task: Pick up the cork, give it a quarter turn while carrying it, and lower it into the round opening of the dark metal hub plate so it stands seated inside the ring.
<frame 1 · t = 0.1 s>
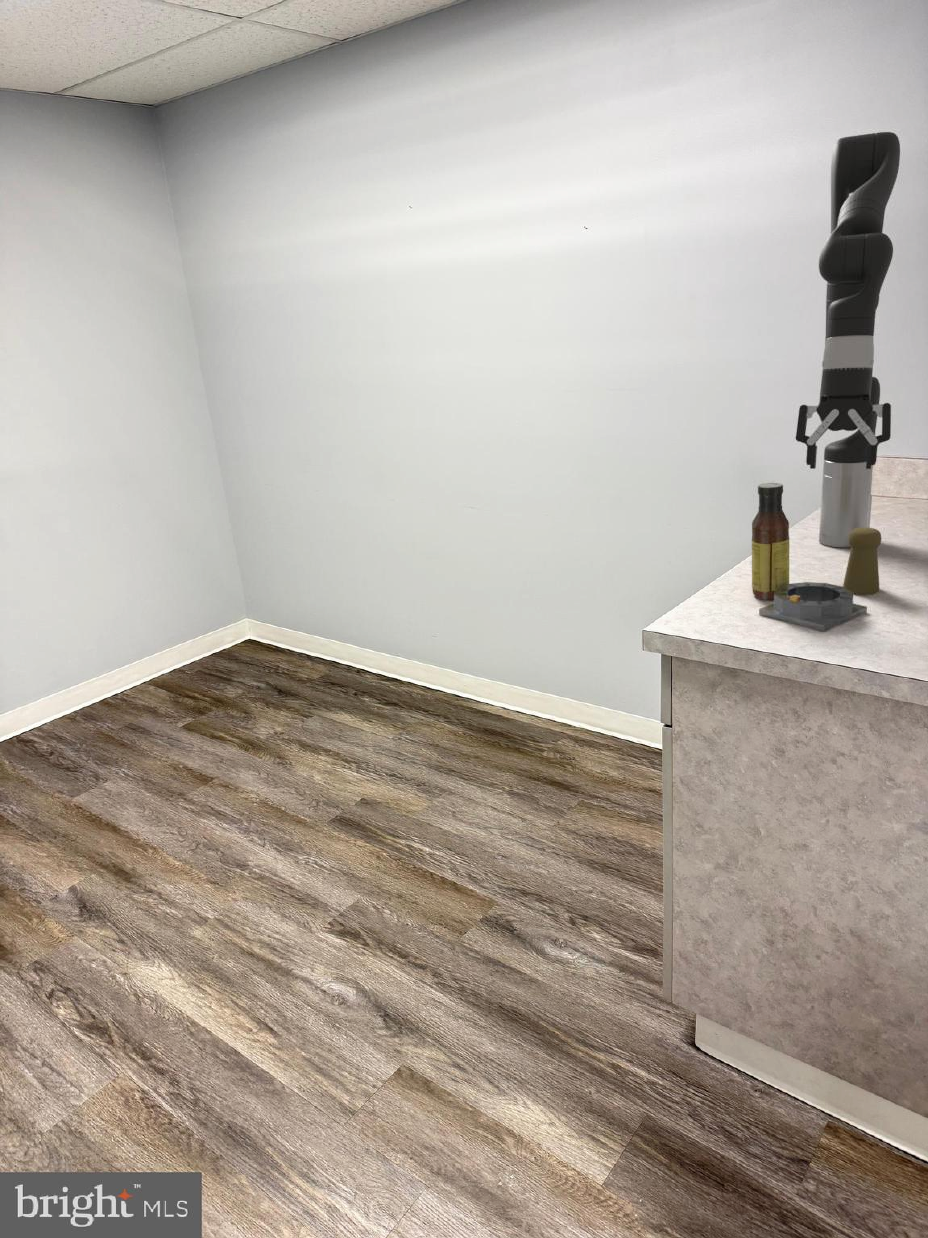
hand: (840, 468, 149), 22 cm above the countertop, tool pointing down, fingers open, 8 cm apart
hub: (812, 613, 149), on the countertop
cork: (860, 590, 158), on the countertop
sauce bottle: (768, 596, 159), on the countertop
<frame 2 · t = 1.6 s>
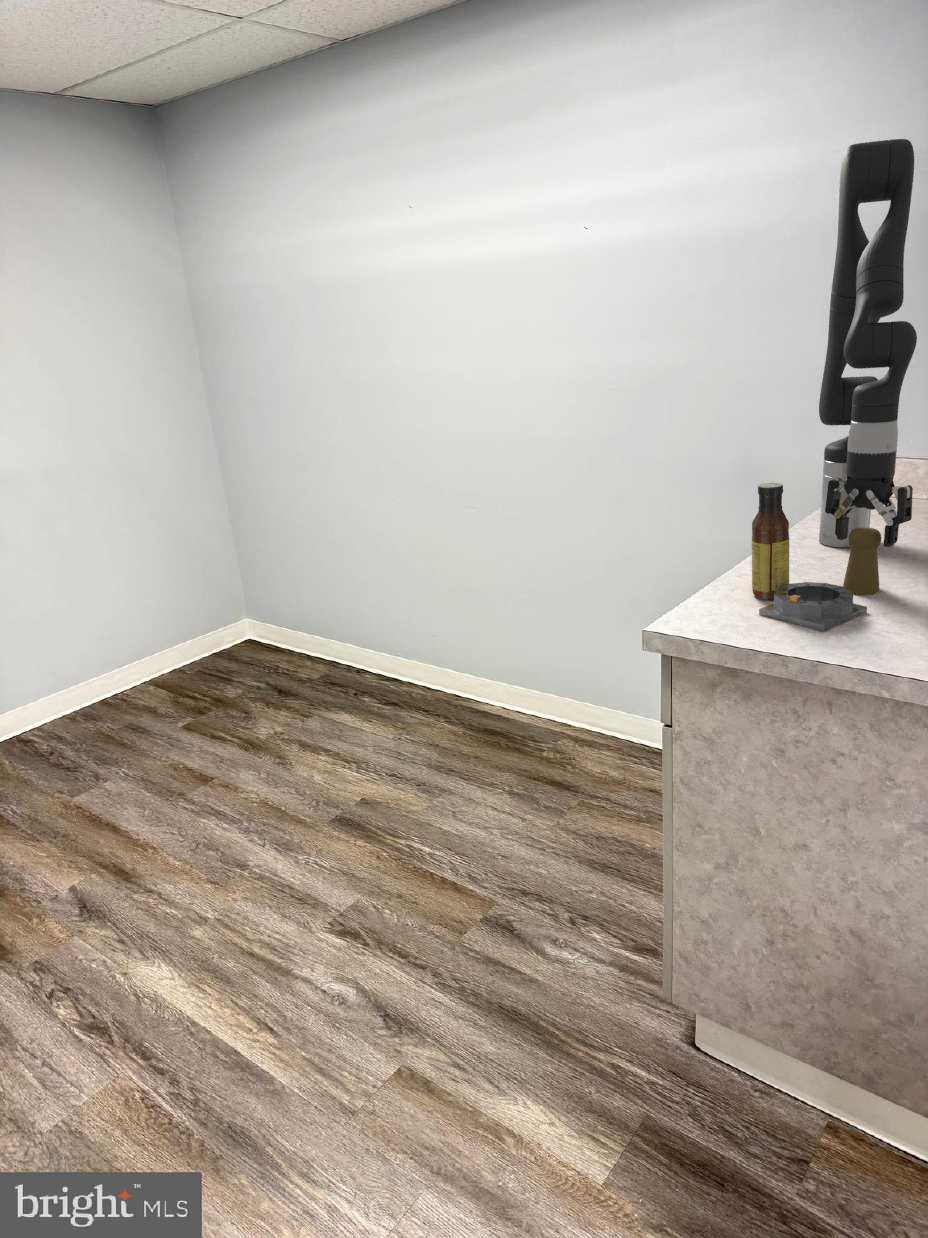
hand: (864, 542, 155), 9 cm above the countertop, tool pointing down, fingers open, 8 cm apart
nothing on the countertop moved.
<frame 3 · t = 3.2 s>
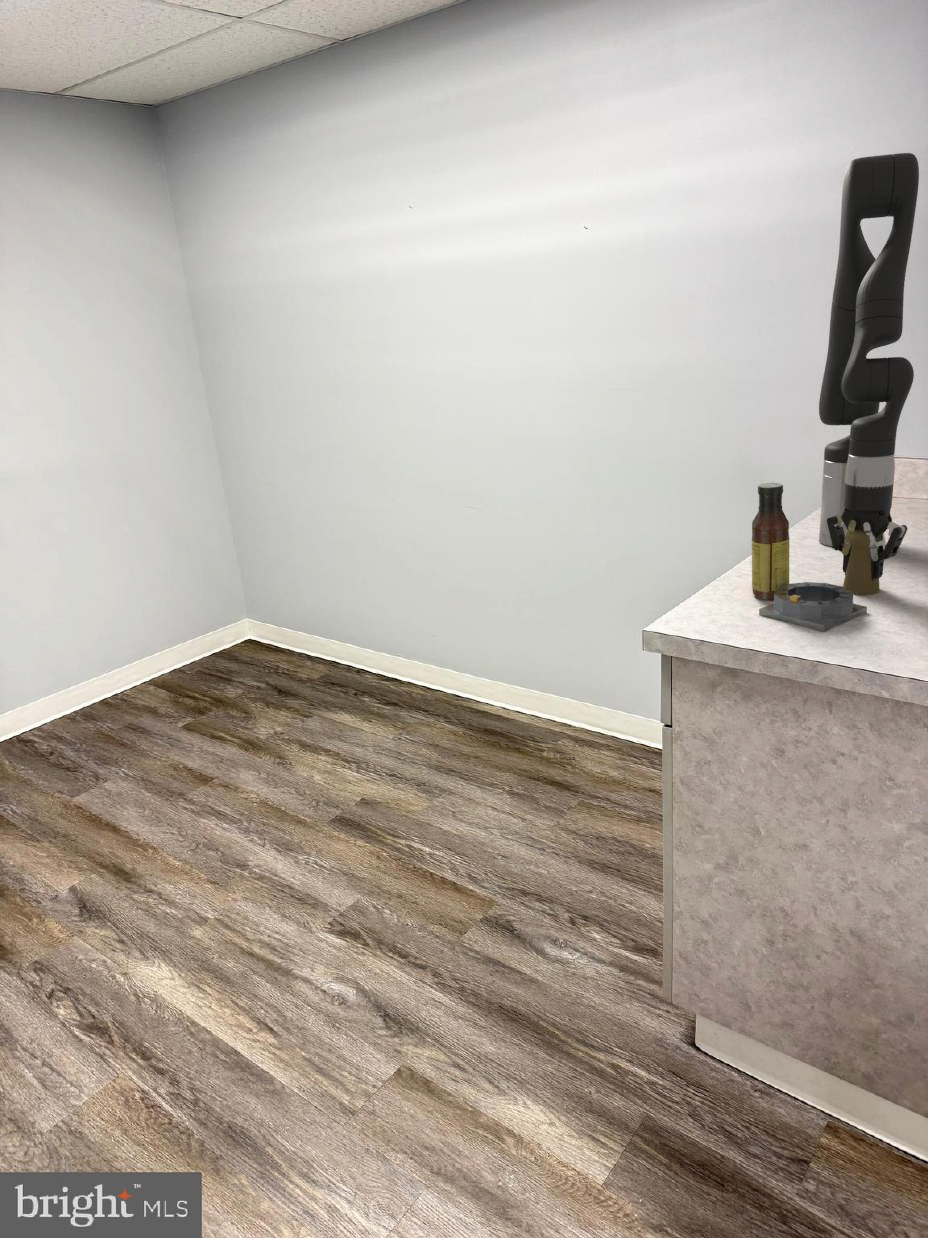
hand: (861, 577, 157), 2 cm above the countertop, tool pointing down, fingers closed on cork, 4 cm apart
cork: (860, 590, 158), on the countertop, touching gripper
everything else where it was.
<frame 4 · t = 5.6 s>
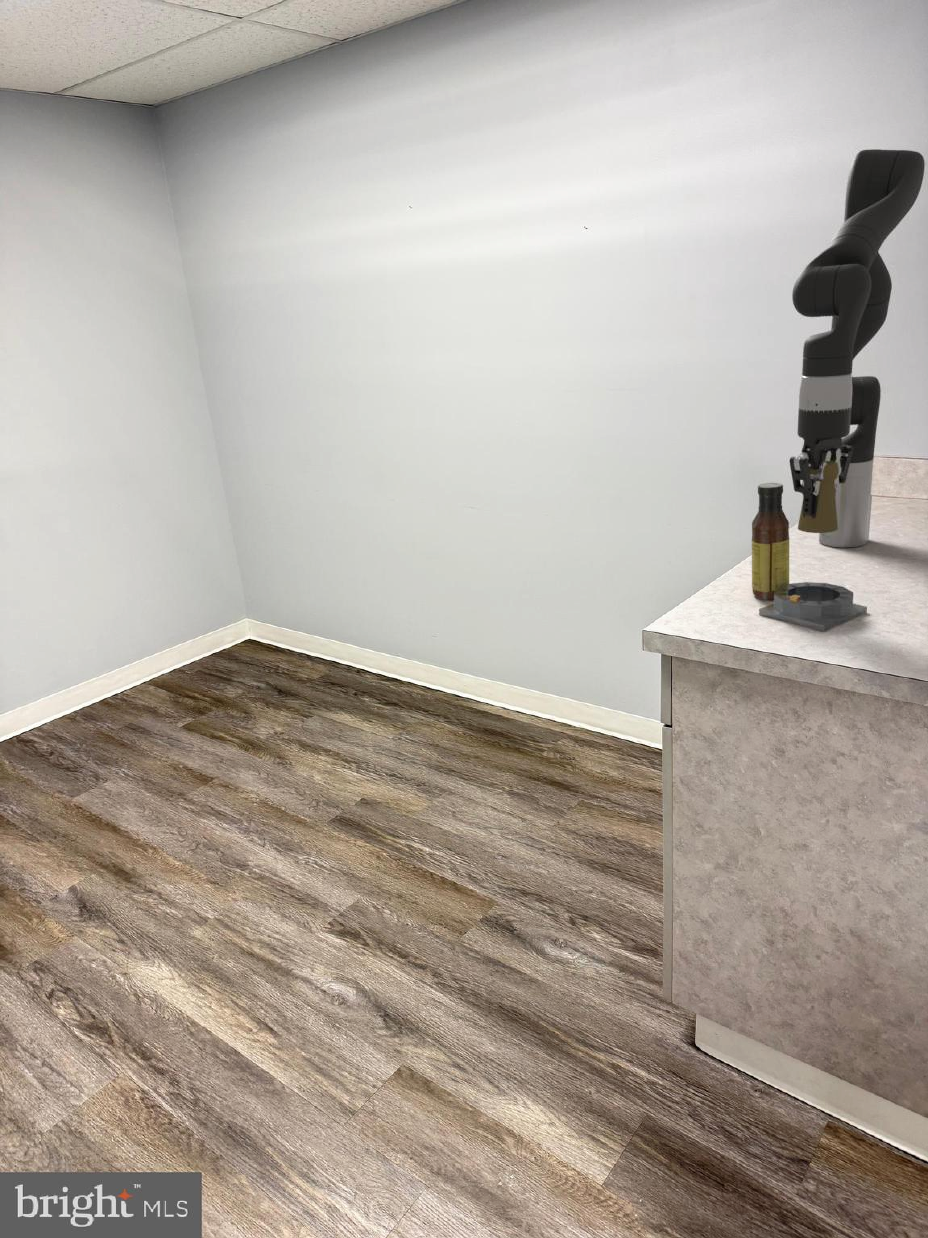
hand: (818, 514, 143), 17 cm above the countertop, tool pointing down, fingers closed on cork, 4 cm apart
cork: (817, 529, 144), point 14 cm above the countertop, touching gripper
everything else where it was.
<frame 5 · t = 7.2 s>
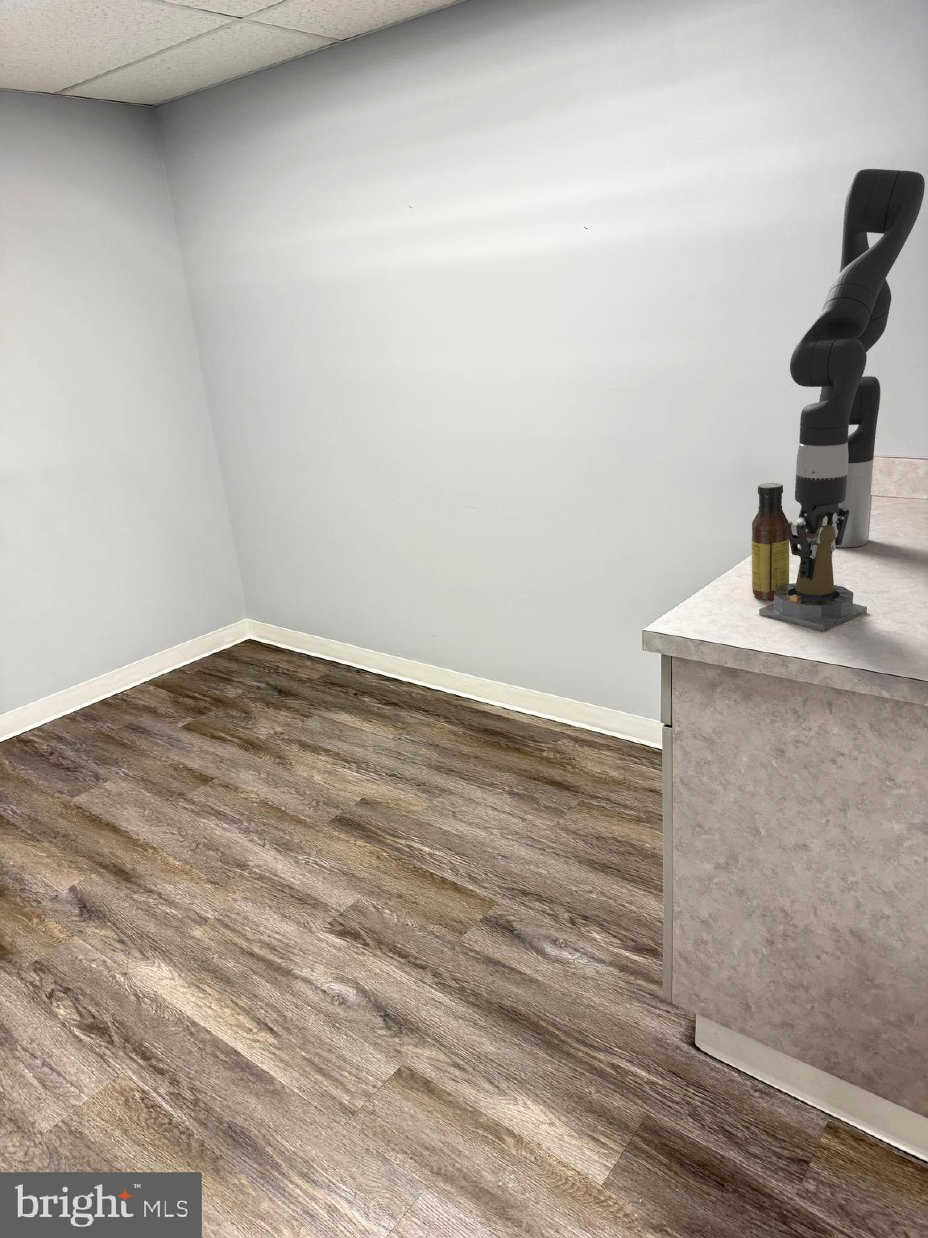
hand: (815, 575, 146), 7 cm above the countertop, tool pointing down, fingers closed on cork, 4 cm apart
cork: (814, 590, 147), point 4 cm above the countertop, touching gripper
everything else where it was.
when the fingers open (5 cm above the countertop, at t = 8.2 s): cork drops 1 cm, resting on hub.
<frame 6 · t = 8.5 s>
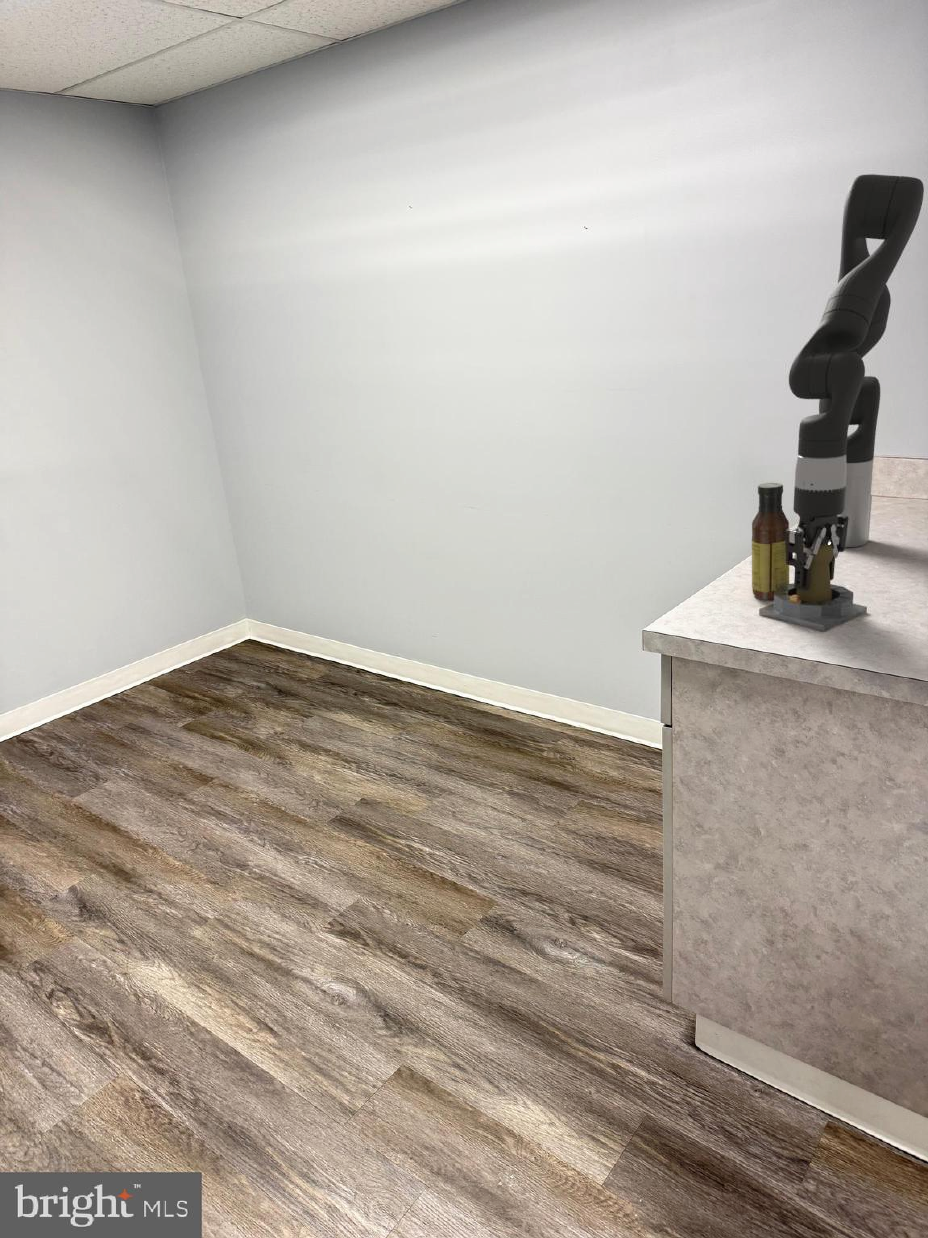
hand: (814, 584, 147), 5 cm above the countertop, tool pointing down, fingers open, 6 cm apart
cork: (812, 608, 149), point 1 cm above the countertop, touching hub
everything else where it was.
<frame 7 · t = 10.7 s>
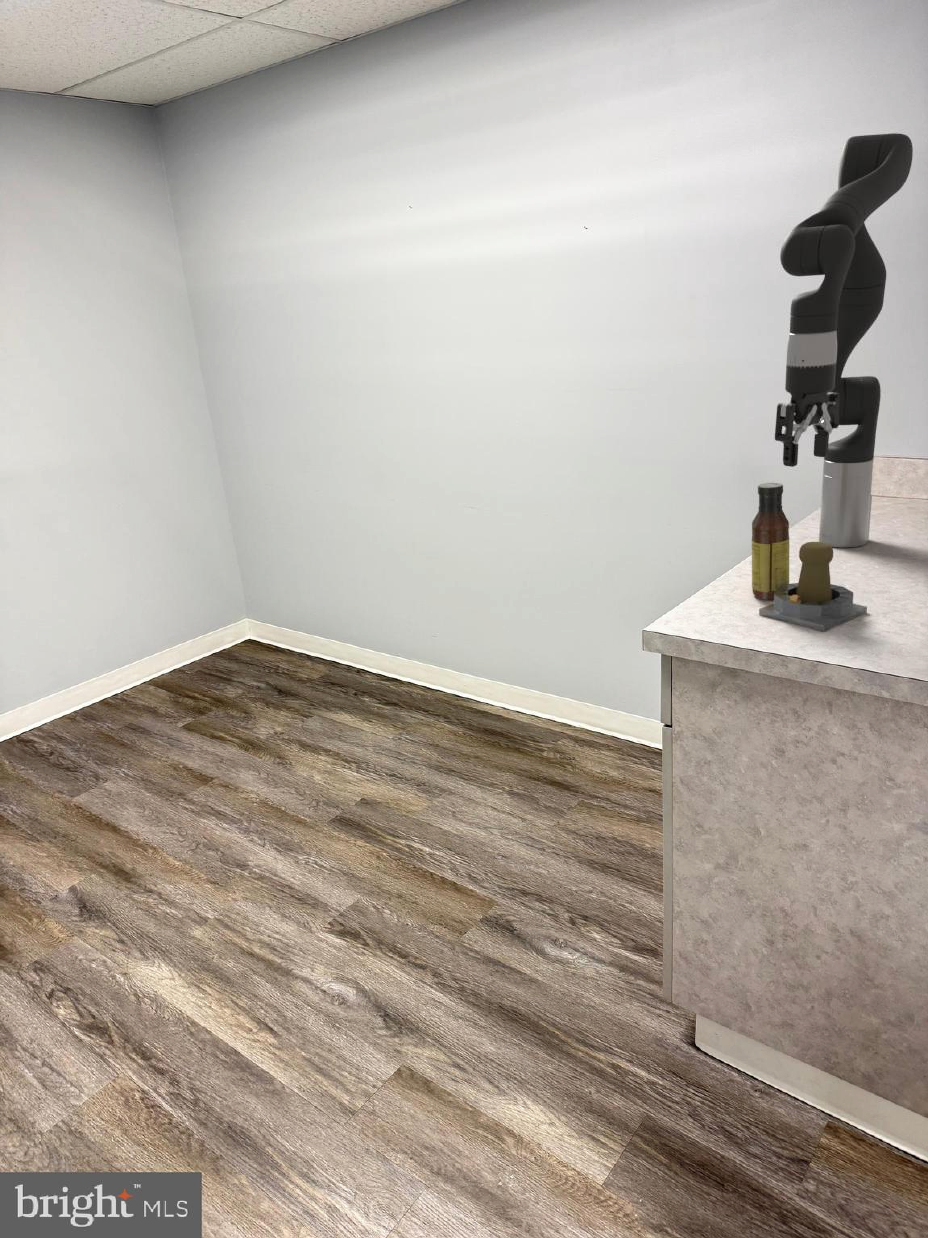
hand: (805, 461, 150), 23 cm above the countertop, tool pointing down, fingers open, 8 cm apart
nothing on the countertop moved.
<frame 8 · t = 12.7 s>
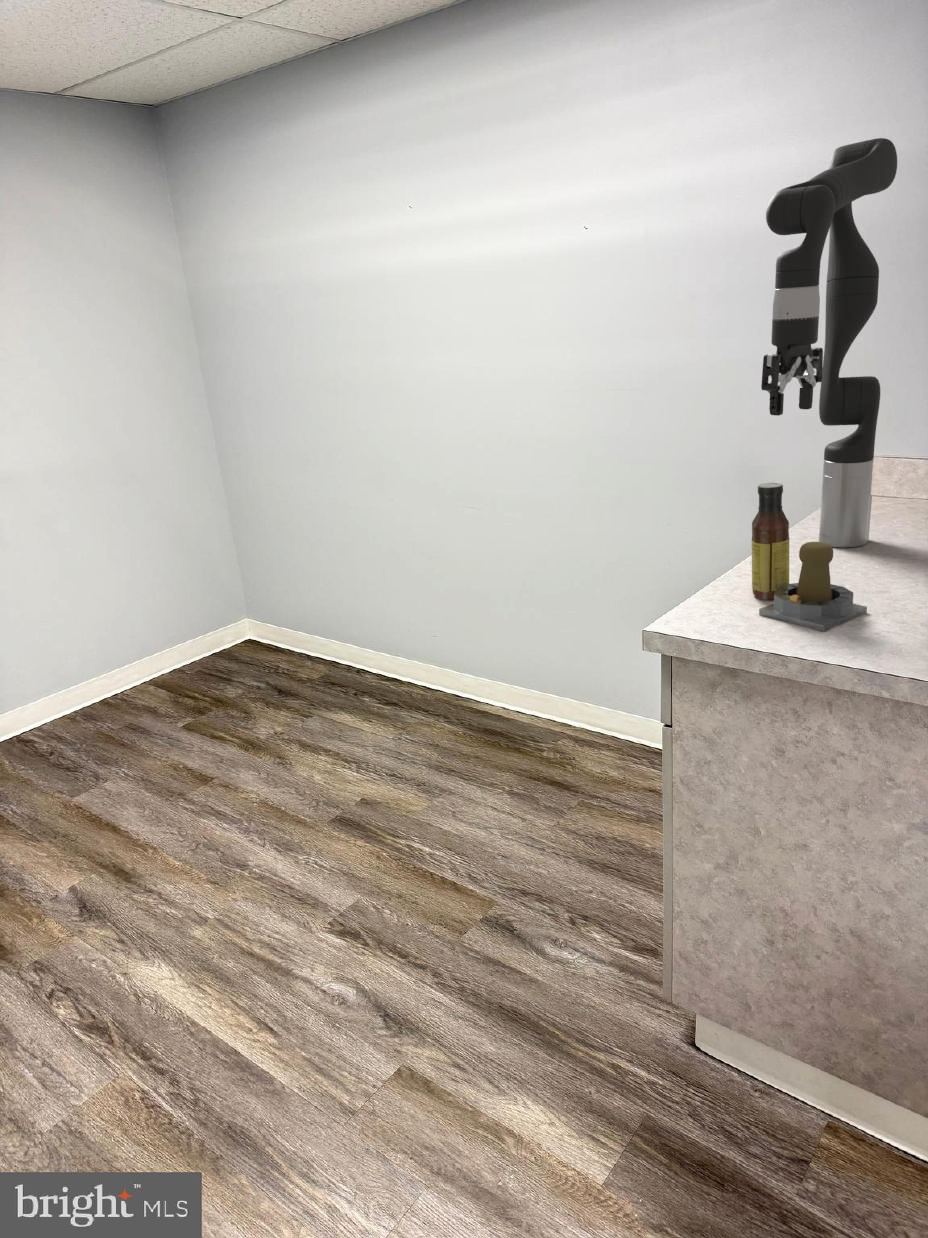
hand: (791, 411, 159), 30 cm above the countertop, tool pointing down, fingers open, 8 cm apart
nothing on the countertop moved.
at the end: cork 0.2 cm from the hub (horizontally); cork point 0.8 cm above the countertop; cork tilted 0° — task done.
